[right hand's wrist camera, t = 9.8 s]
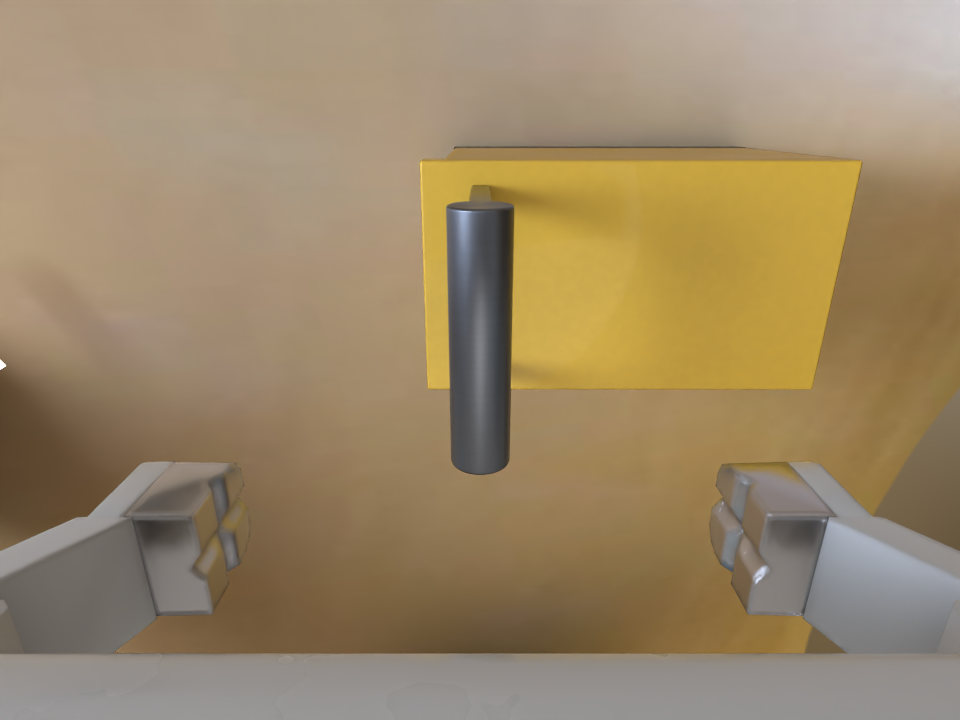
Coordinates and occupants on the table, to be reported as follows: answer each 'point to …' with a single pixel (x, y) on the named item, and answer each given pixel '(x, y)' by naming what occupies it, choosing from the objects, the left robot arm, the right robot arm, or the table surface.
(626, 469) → the table surface
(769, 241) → the lid
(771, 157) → the chest
